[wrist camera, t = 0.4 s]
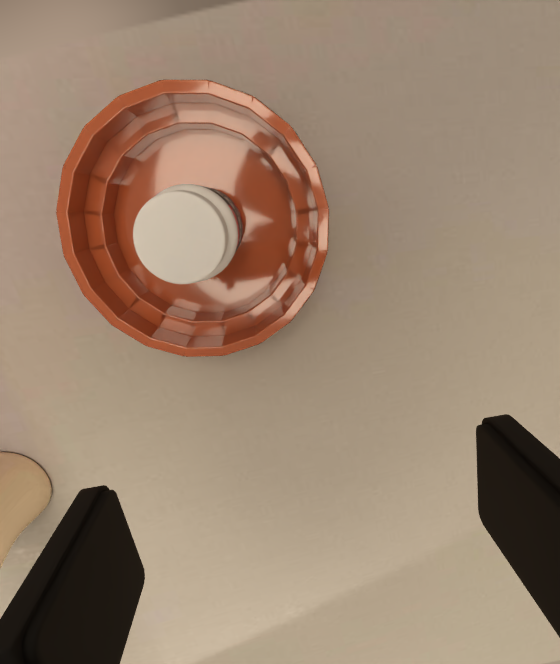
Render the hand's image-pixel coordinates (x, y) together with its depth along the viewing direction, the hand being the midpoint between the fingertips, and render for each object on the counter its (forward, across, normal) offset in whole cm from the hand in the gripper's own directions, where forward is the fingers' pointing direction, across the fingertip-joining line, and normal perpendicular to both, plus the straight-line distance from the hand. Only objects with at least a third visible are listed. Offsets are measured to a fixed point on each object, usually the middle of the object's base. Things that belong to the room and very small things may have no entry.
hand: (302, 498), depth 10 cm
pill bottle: (+18, +3, -6) cm, 20 cm away
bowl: (+18, +3, -6) cm, 20 cm away
